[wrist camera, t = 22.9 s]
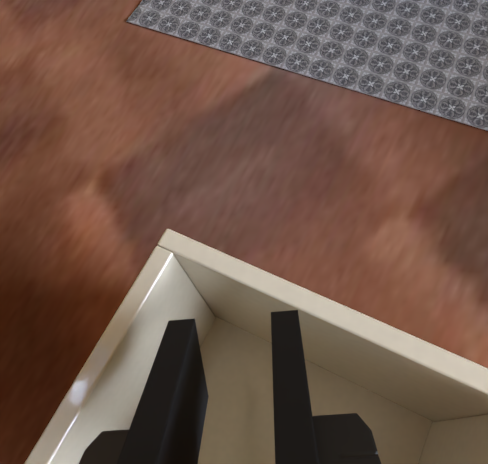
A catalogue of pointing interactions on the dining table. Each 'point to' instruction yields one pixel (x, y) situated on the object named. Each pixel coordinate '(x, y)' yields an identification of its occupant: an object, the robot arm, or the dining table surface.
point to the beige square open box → (270, 367)
